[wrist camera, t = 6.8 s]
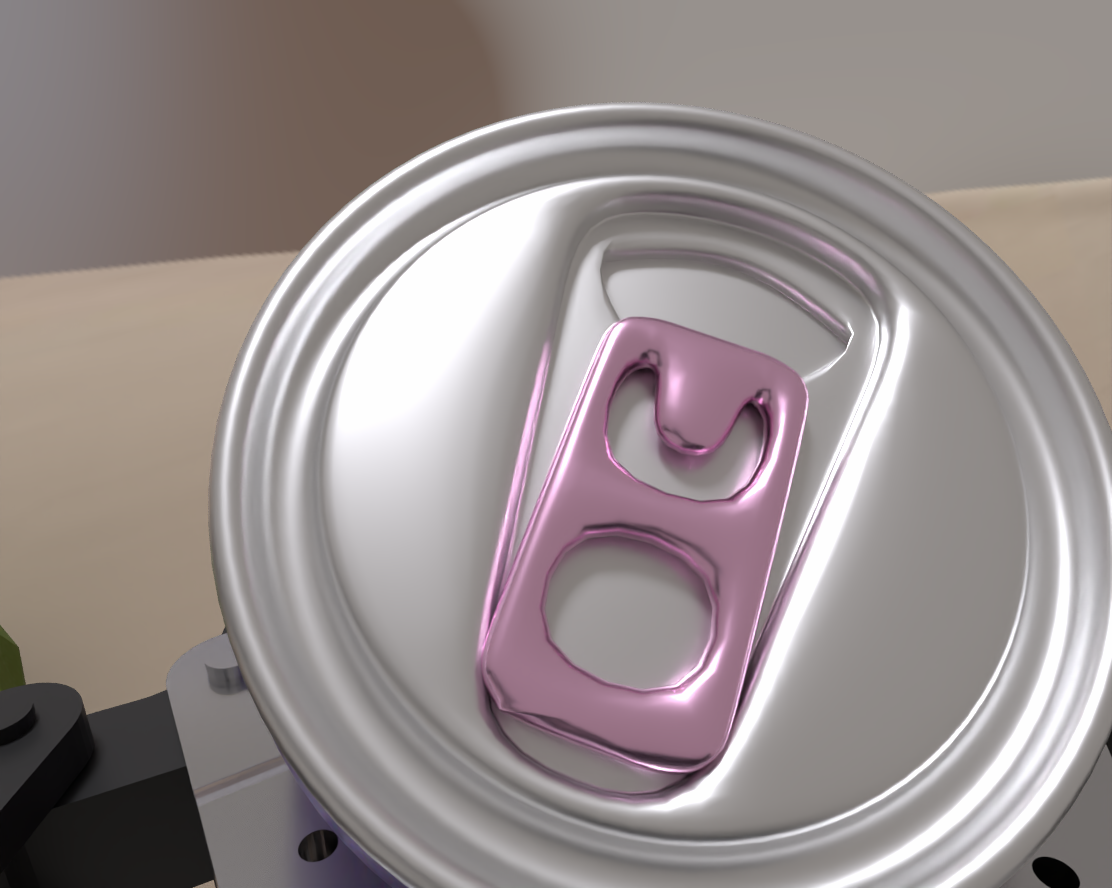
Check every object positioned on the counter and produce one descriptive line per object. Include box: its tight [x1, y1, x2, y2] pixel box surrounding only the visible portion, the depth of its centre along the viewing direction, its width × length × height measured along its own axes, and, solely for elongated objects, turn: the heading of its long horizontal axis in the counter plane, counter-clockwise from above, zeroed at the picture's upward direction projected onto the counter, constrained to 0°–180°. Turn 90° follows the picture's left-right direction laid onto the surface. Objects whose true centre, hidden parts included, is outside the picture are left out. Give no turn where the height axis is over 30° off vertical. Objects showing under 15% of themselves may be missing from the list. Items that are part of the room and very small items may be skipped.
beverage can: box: [208, 102, 1112, 888], centre depth 12 cm, size 6×6×15 cm
